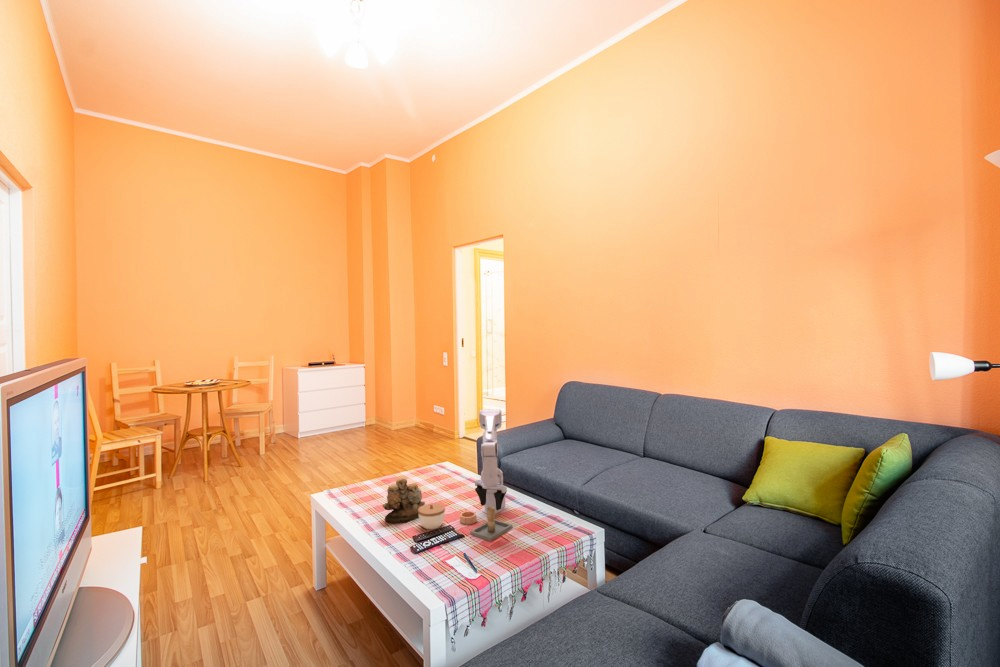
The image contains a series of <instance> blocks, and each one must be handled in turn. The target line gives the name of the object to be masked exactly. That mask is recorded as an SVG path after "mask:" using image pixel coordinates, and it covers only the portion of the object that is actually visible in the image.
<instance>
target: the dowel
mask: <svg viewBox="0 0 1000 667" xmlns="http://www.w3.org/2000/svg"><path fill="white" fill-rule="evenodd" d="M486 515H487V517H486V518H487V521H486V522H487V525H488V532H489V533H493V532H495V520H496V514H495V508H494V507H488V508H487V512H486Z"/></svg>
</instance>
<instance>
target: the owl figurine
mask: <svg viewBox="0 0 1000 667" xmlns="http://www.w3.org/2000/svg"><path fill="white" fill-rule="evenodd" d="M407 483H408V480H407V479H406V478H405V477H398V479H397V480H396V481H395V483H394V484H393V483H392V484H390V485H389V486H388V487H387V495H386V501H387V502H386V503H385V502H384V503H383V504H382V507H383V509H384V510H385V511H390V512H388V513H387V514H386V515H385V516H384V520H385V522H386V523H389V524H392V525H393V524H395V525H397V524H407V523H408V522H411V521H414V520H417V519H419V513H418V509H419V508H420V507H421V506H423V505H426V502H425V501H422V500H423V494H422V489H421V488H420V487H419V485H418V484H417V483H411V484H409V485H408V484H407Z"/></svg>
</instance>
